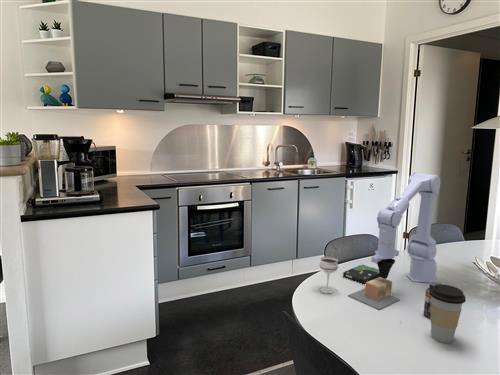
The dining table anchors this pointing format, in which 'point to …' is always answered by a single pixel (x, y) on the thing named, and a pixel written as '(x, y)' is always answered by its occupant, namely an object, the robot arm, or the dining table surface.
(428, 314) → the supplement bottle
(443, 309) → the coffee cup
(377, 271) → the disk drive
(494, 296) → the dining table surface
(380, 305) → the mat
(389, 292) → the maple block
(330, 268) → the wineglass
